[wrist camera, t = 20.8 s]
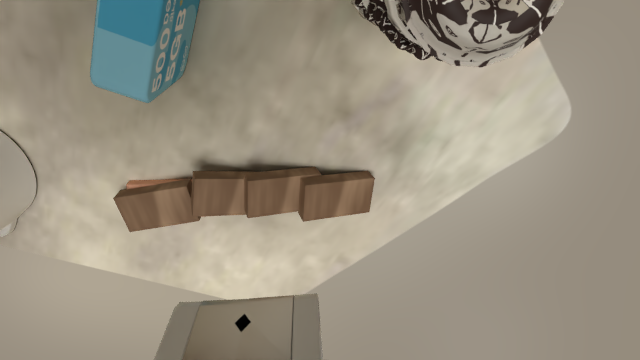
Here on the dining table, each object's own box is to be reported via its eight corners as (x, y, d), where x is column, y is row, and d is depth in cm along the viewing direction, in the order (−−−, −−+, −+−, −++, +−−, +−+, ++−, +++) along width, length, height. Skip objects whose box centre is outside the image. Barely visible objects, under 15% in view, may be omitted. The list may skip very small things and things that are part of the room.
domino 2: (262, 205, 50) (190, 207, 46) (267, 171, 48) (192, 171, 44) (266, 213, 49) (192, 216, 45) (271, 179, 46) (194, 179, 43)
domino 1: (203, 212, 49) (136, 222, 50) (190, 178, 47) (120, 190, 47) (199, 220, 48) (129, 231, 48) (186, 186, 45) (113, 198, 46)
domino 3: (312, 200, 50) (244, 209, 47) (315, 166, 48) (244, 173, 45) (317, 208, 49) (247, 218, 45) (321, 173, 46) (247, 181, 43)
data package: (184, 76, 42) (144, 108, 32) (142, 61, 41) (87, 90, 31) (209, -41, 37) (171, -49, 26) (161, -61, 36) (103, -77, 26)
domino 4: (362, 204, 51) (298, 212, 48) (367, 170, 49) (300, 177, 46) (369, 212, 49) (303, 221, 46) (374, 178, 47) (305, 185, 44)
